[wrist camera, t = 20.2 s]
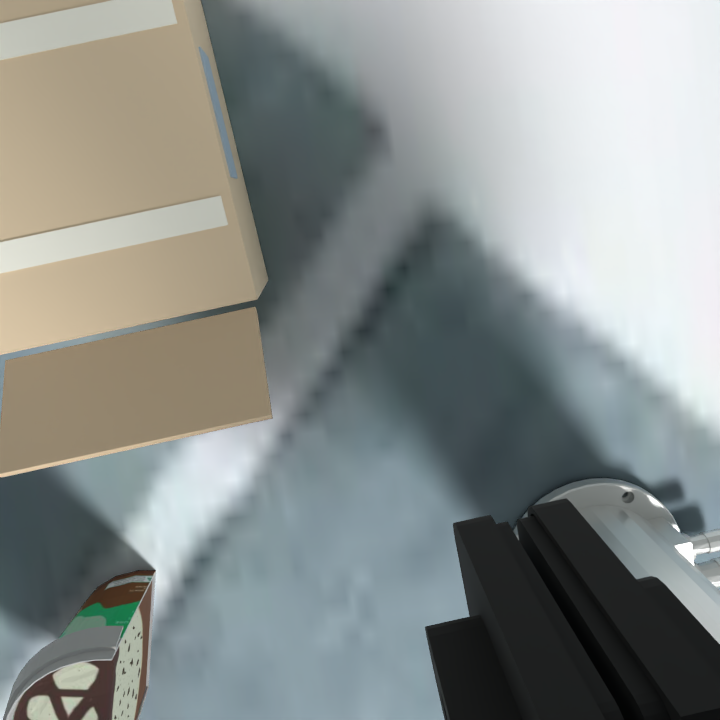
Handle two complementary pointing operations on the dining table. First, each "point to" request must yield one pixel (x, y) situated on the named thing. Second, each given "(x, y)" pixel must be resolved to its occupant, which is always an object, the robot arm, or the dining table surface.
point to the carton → (116, 171)
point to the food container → (93, 659)
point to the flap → (132, 391)
